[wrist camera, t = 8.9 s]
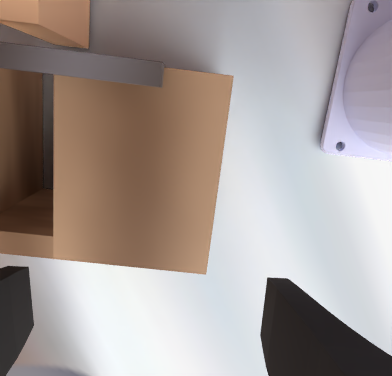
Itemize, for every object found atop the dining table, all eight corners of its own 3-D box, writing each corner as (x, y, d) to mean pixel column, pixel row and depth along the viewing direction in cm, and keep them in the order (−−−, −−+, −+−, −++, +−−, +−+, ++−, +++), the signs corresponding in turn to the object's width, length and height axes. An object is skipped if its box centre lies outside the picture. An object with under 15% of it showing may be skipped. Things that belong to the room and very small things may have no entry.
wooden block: (220, 82, 18) (236, 71, 11) (202, 221, 20) (206, 283, 13) (-81, 45, 17) (-258, 10, 10) (-66, 192, 19) (-206, 241, 12)
